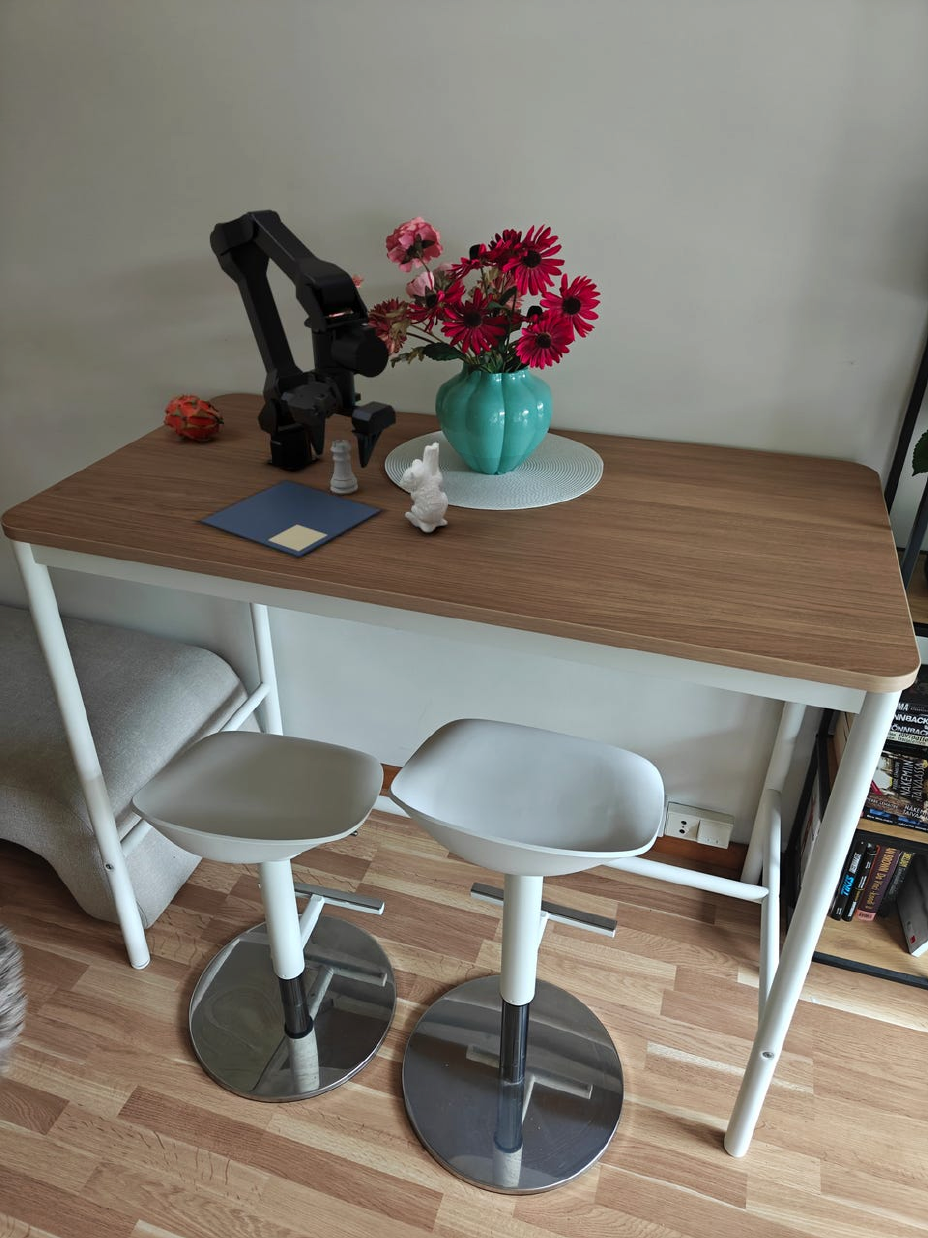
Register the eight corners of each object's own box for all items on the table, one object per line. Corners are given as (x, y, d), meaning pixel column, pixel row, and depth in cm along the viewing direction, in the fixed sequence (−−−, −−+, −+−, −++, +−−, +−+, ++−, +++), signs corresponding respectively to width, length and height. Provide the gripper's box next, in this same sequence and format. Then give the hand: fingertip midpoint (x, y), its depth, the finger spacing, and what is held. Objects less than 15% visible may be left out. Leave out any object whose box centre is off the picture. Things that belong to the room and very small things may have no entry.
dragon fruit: (171, 438, 166) (225, 456, 163) (145, 425, 157) (201, 444, 154) (186, 396, 166) (240, 413, 163) (160, 380, 157) (217, 398, 154)
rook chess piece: (360, 493, 140) (357, 446, 136) (332, 497, 139) (328, 449, 135) (355, 482, 144) (352, 436, 140) (328, 486, 143) (323, 439, 139)
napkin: (285, 482, 144) (285, 480, 144) (381, 511, 135) (380, 509, 135) (201, 522, 132) (200, 520, 132) (299, 557, 122) (299, 555, 122)
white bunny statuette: (422, 510, 135) (420, 435, 129) (461, 519, 132) (461, 443, 126) (394, 533, 129) (390, 455, 122) (434, 542, 126) (433, 463, 120)
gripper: (249, 364, 130) (262, 464, 138) (345, 386, 121) (353, 492, 129) (301, 347, 137) (311, 442, 146) (396, 367, 129) (400, 467, 137)
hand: (341, 460), depth 139 cm, fingers open, 9 cm apart
